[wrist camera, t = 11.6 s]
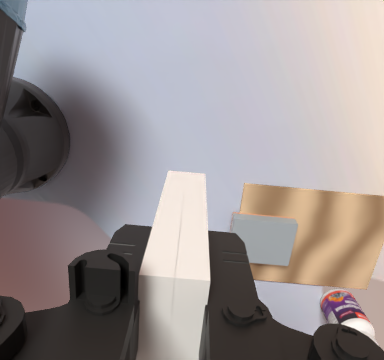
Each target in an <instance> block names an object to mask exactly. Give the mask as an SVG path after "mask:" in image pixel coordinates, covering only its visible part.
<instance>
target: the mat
mask: <svg viewBox="0 0 384 360" xmlns="http://www.w3.org/2000/svg"><path fill="white" fill-rule="evenodd" d="M240 213H247V214H258V215H269V216H280V217H291V218H295V220H296V222H297V223H298V228H297V232H296V236H295V240H294V244H293V248H292V252H291V257H290V261H289V265H288V266H282V265H271V264H259V263H249V264H250V267H251V271H252V275H253V279H254V280H265V281H276V282H287V283H298V284H310V285H321V286H332V287H343V288H355V289H367V287H368V284H369V281H370V279H371V276H372V273H373V270H374V268H375V265H376V262H377V259H378V257H379V254H380V251H381V248H382V246H383V243H384V196H377V195H366V194H355V193H345V192H334V191H323V190H312V189H301V188H291V187H280V186H269V185H258V184H247V183H244V188H243V194H242V200H241V207H240Z"/></svg>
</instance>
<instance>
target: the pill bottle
mask: <svg viewBox="0 0 384 360" xmlns="http://www.w3.org/2000/svg"><path fill="white" fill-rule="evenodd" d="M320 306H321V308H322V311H323V313H324V315H325V317H326V319H327V321H328V323H331V324H342V325H345V326H348V327H352V328H355V329H356V330H358V331H360V332H361V333H363V334H365V335H367V336H368V337H369V338H371V339H372V340H373V341H374V342H375V343H376V344H377V345H378V343H377V341H376V340H375V338H374V337H375V331H374V328H373V326H372V324H371V323H370V321H369V320H368V318H367V317H366V315H365V314H364V312H363V311H362V309H361V308H360V306H359V304H358V303H357V301H356V300H355V298H354V297H353V295H352V294H351V293H350V292H349V291H347V290H345V289H341V288H336V289H332V290H329V291H327V292H326V293H325V294H324V295H323V296H322V298H321V300H320ZM378 346H379V345H378Z"/></svg>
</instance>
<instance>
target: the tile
mask: <svg viewBox="0 0 384 360" xmlns="http://www.w3.org/2000/svg"><path fill="white" fill-rule="evenodd" d="M297 228H298V223H297V222H296V220H295V218H291V217H280V216H269V215H258V214H247V213H236V212H233V214H232V221H231V227H230V233H236V234H237V235H238V236H239V237H240V238H241V239H242V240H243V242H244V243H245V247H246V251H247V255H248V259H249V263H259V264H271V265H282V266H288V265H289V261H290V257H291V252H292V248H293V244H294V240H295V236H296V232H297Z"/></svg>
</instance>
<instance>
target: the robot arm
mask: <svg viewBox="0 0 384 360" xmlns="http://www.w3.org/2000/svg"><path fill="white" fill-rule="evenodd" d="M27 2H28V0H0V198H2V197H3V196H4V195H6V194H12V193H18V192H24V191H29V190H33V189H35V188H38V187H40V186H42V185H44V184H45V183H47V182H48V181H49V180H51V179H52V178H53V177H54V176H56V175H57V174H58V173H59V172H60V170H61V169H62V168H63V166H64V164H65V162H66V160H67V157H68V153H69V147H70V138H69V131H68V127H67V124H66V121H65V119H64V117H63V115H62V113H61V111H60V110H59V108H58V107H57V105H56V104H55V103H54V101H53V100H52V99H51V98H50V97H49V96H48V95H47V94H46V93H45V92H43V91H42V90H41V89H39V88H38V87H36V86H35V85H33V84H31V83H29V82H27V81H25V80H22V79H19V78H15V77H13V74H14V69H15V65H16V60H17V56H18V52H19V47H20V43H21V39H22V34H23V32H25V31H26V24H25V22H24V20H25V14H26V8H27ZM68 272H69V288H70V300H69V302H68V304H65V305H62V306H60V307H56V308H51V309H46V310H40V311H34V312H27V313H25V311H24V308H23V306H22V304H21V302H19V301H18V300H16V299H14V298H12V297H5V296H0V360H384V351H383V350H382V349H381V348H380V347H379V346H378V345H377V344H376V343H375V342H374V341H373V340H372V339H371V338H369V337H368V336H367V335H365V334H363V333H361V332H360V331H358V330H356V329H355V328H352V327H348V326H345V325H342V324H331V323H328V324H325V325H323V326H320V327H319V328H318V329H317V330H316V332H315V333H314V335H313V336H311V335H308V334H306V333H303V332H300V331H297V330H294V329H291V328H289V327H287V326H284V325H282V324H280V323H279V322H277V321H276V320H274V319H273V318H272V315H271V314H270V312H269V310H268V308H267V307H266V306H265V305H264V304H263V303H262V302H261V301H260V300H259V299H258V295H257V291H256V287H255V283H254V279H253V275H252V271H251V267H250V264H249V259H248V255H247V251H246V247H245V243H244V242H243V240H242V239H241V238H240V237H239V236H238V235H237V234H236V233H228V232H217V231H208V221H207V201H206V180H205V174H201V173H190V172H179V171H168V174H167V177H166V181H165V184H164V188H163V191H162V195H161V198H160V202H159V205H158V209H157V212H156V216H155V219H154V223H153V226H152V227H149V226H138V225H127V224H125V225H124V226H123V227H121V228H120V229H119V230H117V231H116V232H115V233H114V235H113V237H112V239H111V241H110V244H109V245H108V248H107V249H106V250H96V251H92V252H87V253H85V254H83V255H81V256H79V257H77V258H75V259H74V260H73V261H72V262H71V263H70V264H69V265H68Z"/></svg>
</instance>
